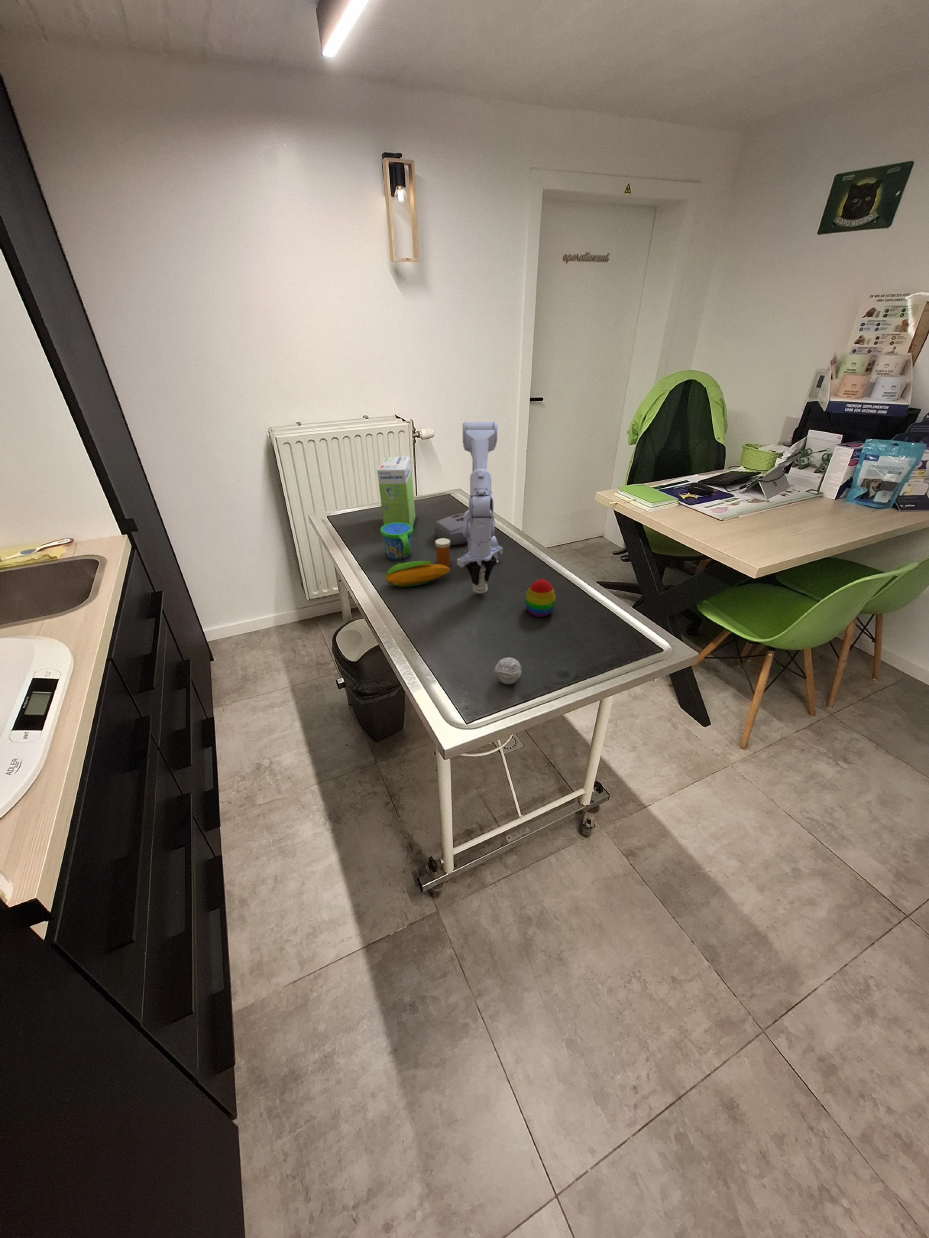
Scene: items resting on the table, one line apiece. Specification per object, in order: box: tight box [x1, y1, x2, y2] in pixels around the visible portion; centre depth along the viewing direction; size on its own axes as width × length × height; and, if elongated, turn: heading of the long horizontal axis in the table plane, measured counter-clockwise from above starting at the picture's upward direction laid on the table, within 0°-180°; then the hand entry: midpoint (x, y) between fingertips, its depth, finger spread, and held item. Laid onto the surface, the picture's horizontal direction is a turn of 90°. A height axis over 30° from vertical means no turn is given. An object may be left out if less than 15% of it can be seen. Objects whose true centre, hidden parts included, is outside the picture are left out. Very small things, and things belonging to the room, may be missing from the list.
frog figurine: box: [494, 657, 522, 685], centre depth 109 cm, size 6×7×7 cm
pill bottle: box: [434, 538, 451, 567], centre depth 158 cm, size 5×5×8 cm
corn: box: [384, 560, 451, 588], centre depth 147 cm, size 7×8×20 cm
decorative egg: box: [524, 578, 556, 618], centre depth 132 cm, size 8×8×10 cm
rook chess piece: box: [472, 564, 489, 595], centre depth 140 cm, size 4×4×8 cm
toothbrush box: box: [376, 456, 416, 529], centre depth 180 cm, size 18×10×24 cm, turn 179°
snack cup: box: [379, 522, 414, 561], centre depth 162 cm, size 16×10×10 cm
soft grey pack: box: [433, 512, 468, 546], centre depth 176 cm, size 15×8×20 cm
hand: (480, 581), depth 141 cm, fingers closed on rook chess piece, 3 cm apart
